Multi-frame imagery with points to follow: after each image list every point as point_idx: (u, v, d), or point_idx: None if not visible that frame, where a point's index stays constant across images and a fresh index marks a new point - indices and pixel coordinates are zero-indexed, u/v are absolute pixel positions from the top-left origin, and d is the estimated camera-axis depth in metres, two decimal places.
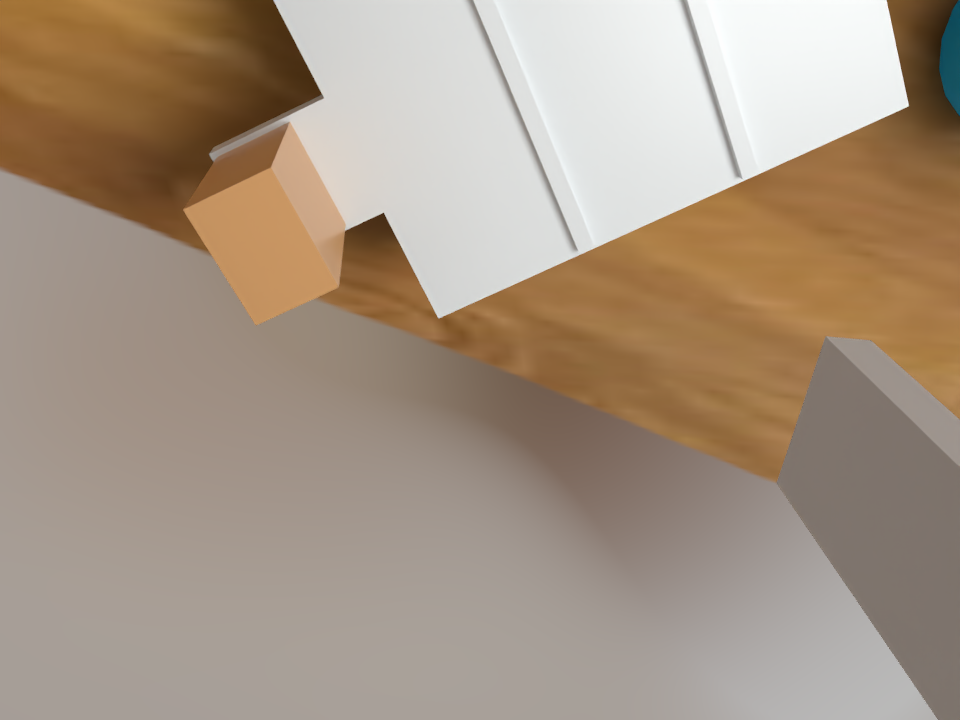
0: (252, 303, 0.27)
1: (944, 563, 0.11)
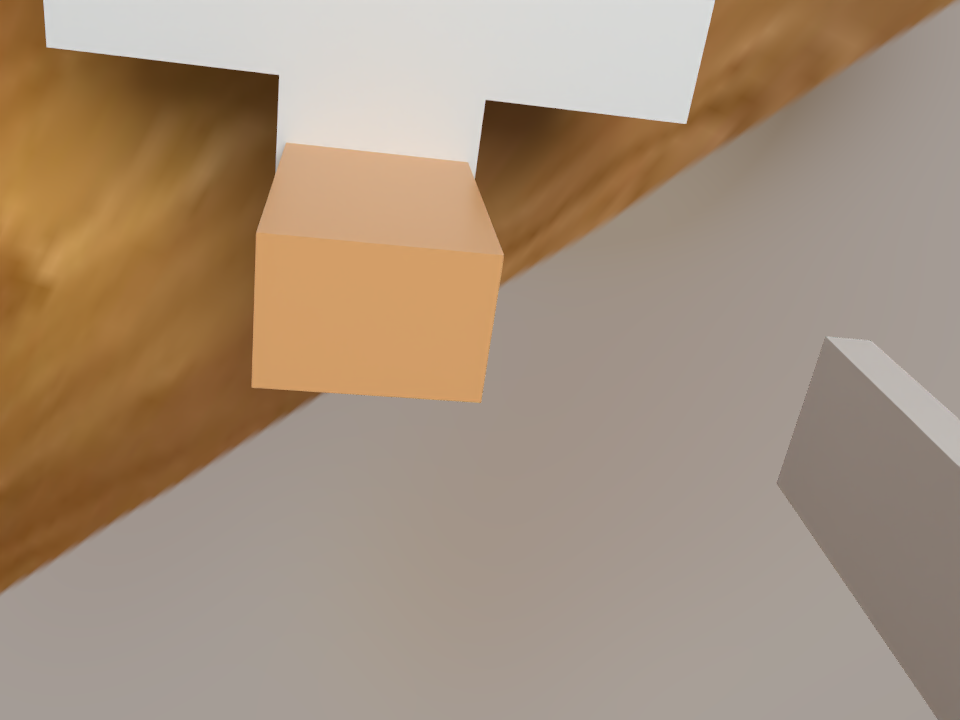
0: (445, 386, 0.16)
1: (944, 563, 0.11)
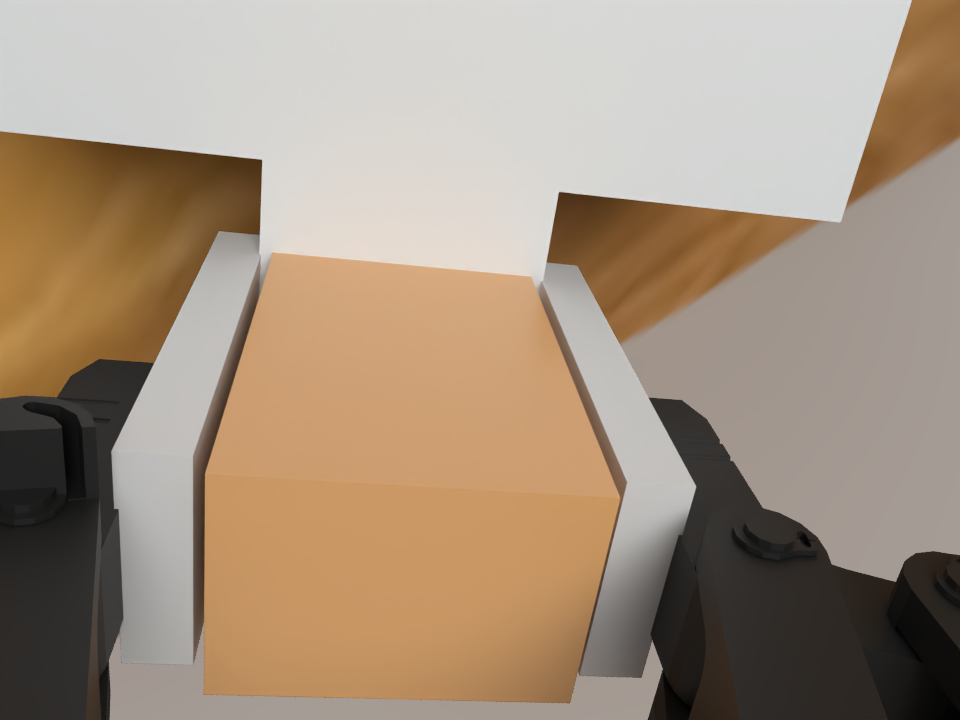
0: (515, 682, 0.10)
1: None
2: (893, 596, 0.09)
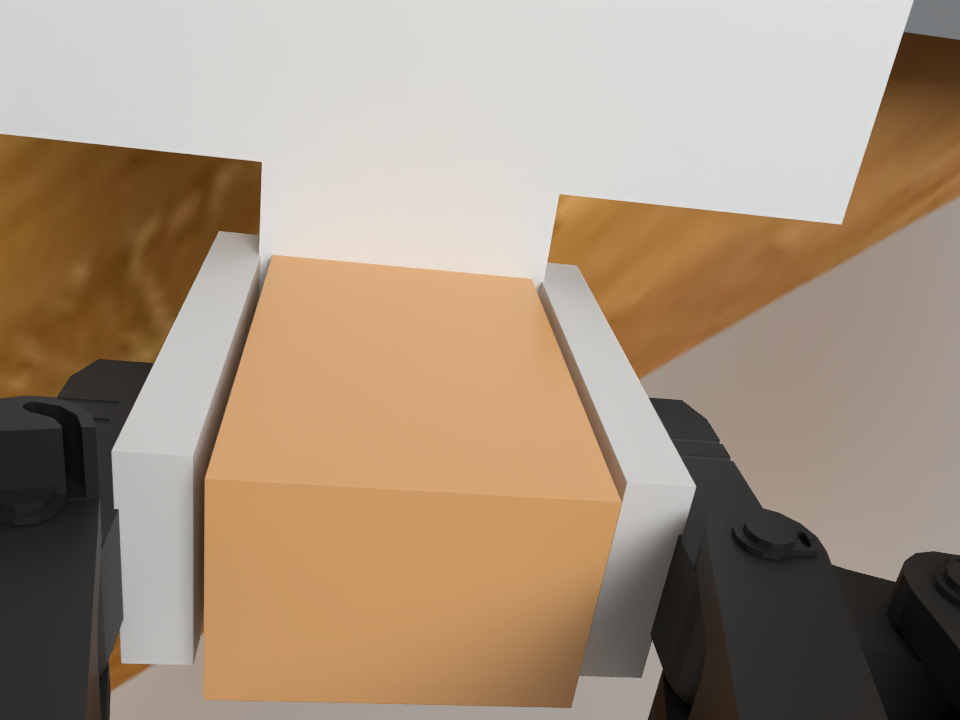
0: (516, 687, 0.10)
1: None
2: (893, 596, 0.09)
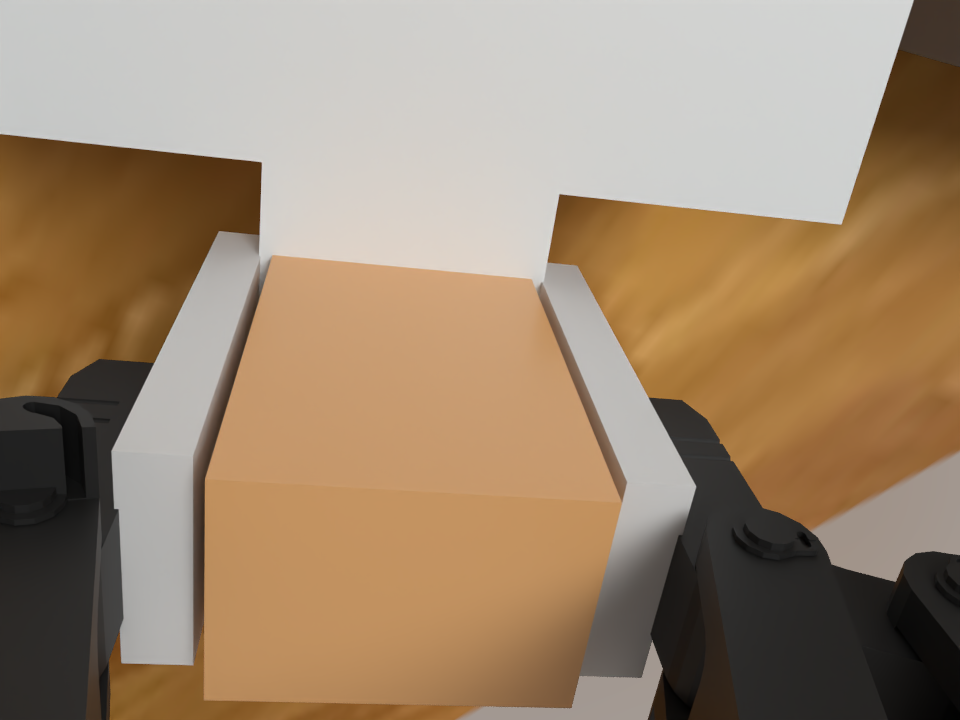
0: (517, 687, 0.10)
1: None
2: (893, 596, 0.09)
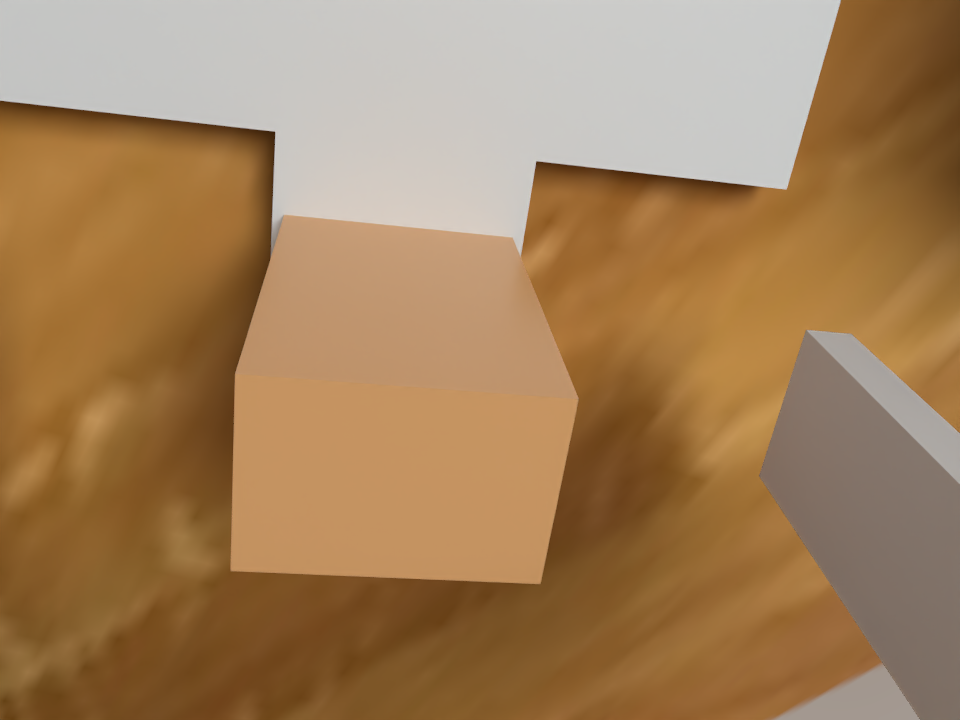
0: (493, 564, 0.12)
1: (917, 552, 0.11)
2: None
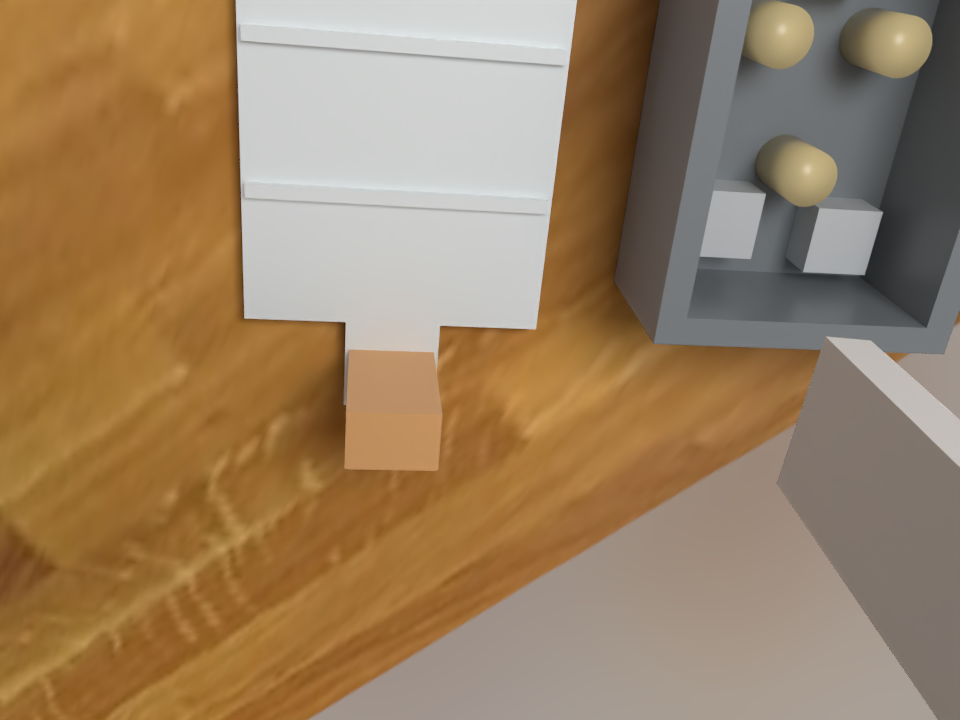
0: (423, 464, 0.39)
1: (944, 563, 0.11)
2: None
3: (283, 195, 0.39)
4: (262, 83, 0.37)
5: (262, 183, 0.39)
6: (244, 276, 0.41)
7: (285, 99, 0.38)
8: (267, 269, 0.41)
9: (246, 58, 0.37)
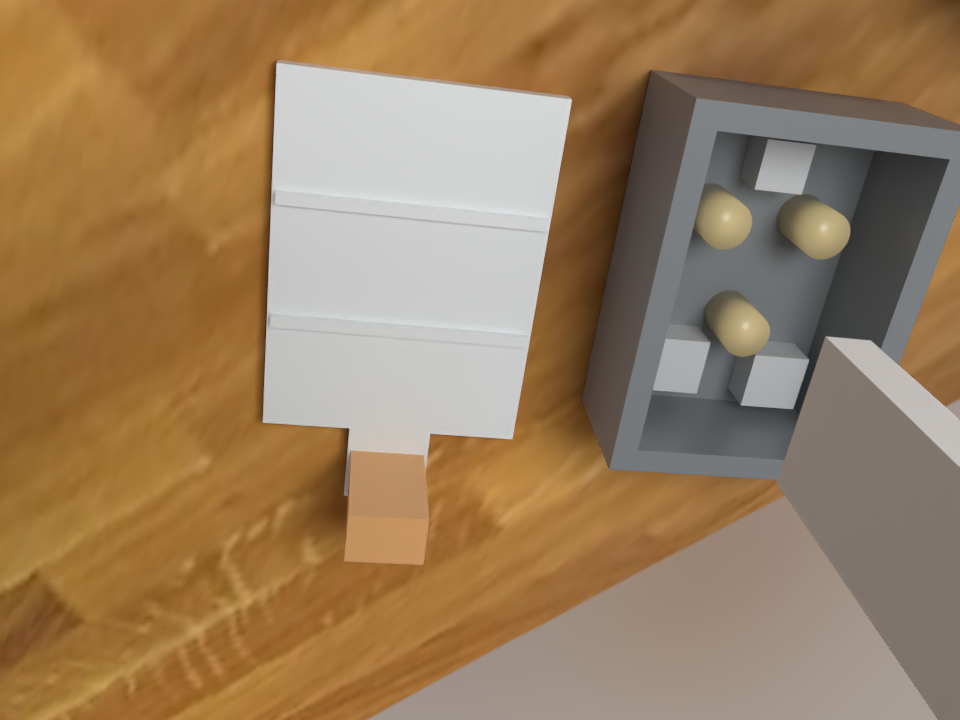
0: (410, 559, 0.46)
1: (944, 563, 0.11)
2: None
3: (302, 326, 0.46)
4: (290, 236, 0.44)
5: (285, 315, 0.46)
6: (265, 388, 0.48)
7: (309, 249, 0.45)
8: (284, 384, 0.48)
9: (278, 216, 0.44)
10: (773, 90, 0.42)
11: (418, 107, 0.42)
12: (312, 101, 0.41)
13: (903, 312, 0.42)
